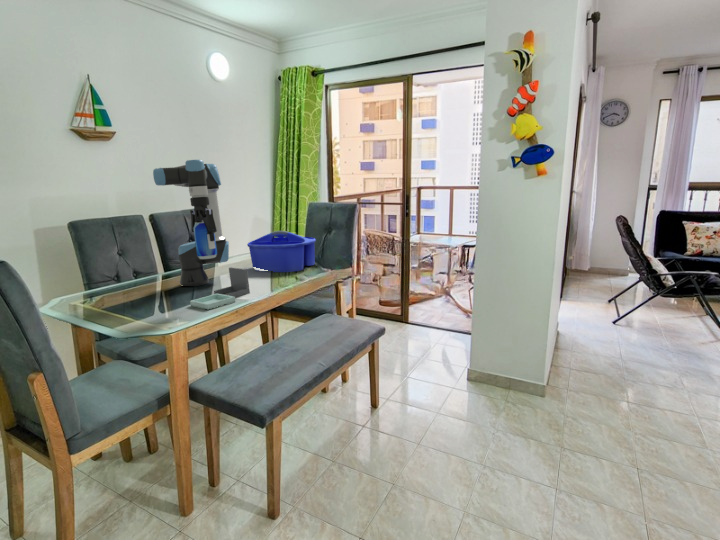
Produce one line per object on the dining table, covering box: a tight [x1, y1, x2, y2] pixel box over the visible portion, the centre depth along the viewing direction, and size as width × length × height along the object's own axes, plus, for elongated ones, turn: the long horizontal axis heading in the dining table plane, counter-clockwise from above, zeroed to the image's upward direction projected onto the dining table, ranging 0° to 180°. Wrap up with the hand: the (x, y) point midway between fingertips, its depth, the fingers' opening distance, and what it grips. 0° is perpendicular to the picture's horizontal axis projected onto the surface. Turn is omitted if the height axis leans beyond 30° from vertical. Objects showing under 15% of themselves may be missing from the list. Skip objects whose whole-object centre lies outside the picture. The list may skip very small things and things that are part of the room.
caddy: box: [246, 230, 317, 273], centre depth 272 cm, size 32×45×24 cm
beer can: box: [193, 221, 217, 259], centre depth 191 cm, size 8×8×16 cm
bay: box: [213, 267, 251, 298], centre depth 211 cm, size 13×11×12 cm
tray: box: [189, 293, 236, 311], centre depth 196 cm, size 14×14×2 cm
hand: (206, 248), depth 191 cm, fingers closed on beer can, 8 cm apart
